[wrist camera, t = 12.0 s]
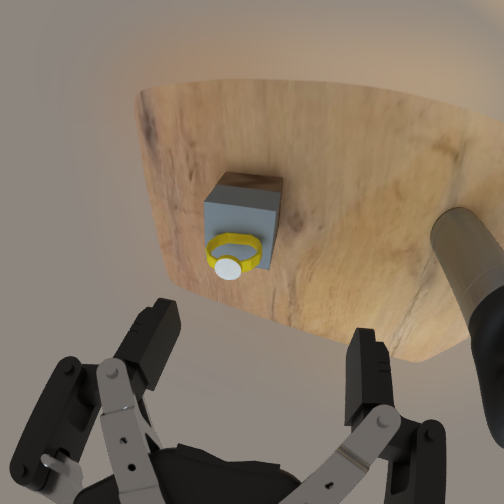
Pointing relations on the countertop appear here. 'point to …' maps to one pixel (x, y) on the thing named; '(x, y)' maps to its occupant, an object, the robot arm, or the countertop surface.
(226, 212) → the grey block
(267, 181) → the walnut block
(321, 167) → the countertop surface
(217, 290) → the countertop surface
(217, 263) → the watch
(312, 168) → the countertop surface
